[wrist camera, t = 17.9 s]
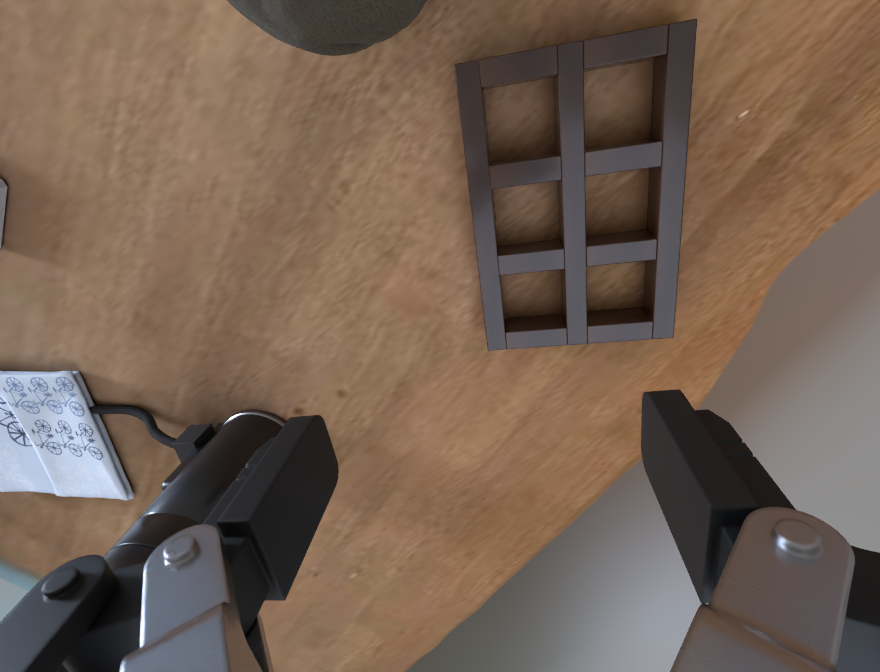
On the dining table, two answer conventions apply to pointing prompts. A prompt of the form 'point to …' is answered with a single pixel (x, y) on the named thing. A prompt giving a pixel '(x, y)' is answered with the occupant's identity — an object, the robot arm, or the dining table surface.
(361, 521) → the dining table surface
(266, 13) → the cantaloupe
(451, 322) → the dining table surface
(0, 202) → the smartphone
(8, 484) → the white paper booklet
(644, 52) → the open grid frame
